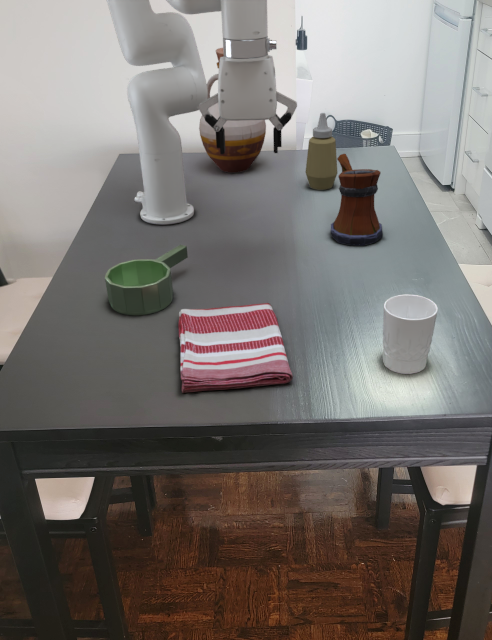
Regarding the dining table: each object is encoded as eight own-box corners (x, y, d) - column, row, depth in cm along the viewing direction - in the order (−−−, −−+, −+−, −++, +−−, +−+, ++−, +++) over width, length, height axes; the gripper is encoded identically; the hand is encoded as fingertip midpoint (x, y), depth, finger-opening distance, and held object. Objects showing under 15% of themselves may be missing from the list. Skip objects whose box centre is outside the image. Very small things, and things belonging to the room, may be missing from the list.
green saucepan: (145, 321, 121) (142, 293, 118) (97, 306, 126) (92, 278, 123) (209, 277, 135) (207, 251, 132) (163, 265, 140) (160, 239, 137)
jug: (185, 167, 192) (174, 49, 175) (233, 153, 202) (228, 40, 185) (231, 183, 180) (224, 58, 163) (280, 167, 190) (279, 48, 173)
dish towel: (181, 395, 103) (179, 380, 101) (178, 318, 122) (177, 304, 121) (293, 385, 104) (293, 370, 103) (273, 310, 123) (273, 297, 122)
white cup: (374, 350, 111) (378, 295, 106) (422, 347, 112) (429, 292, 106) (385, 378, 105) (391, 321, 99) (436, 374, 105) (444, 317, 100)
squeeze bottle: (342, 184, 177) (345, 111, 167) (327, 194, 171) (330, 119, 161) (314, 179, 181) (316, 107, 171) (299, 188, 175) (300, 115, 165)
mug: (316, 218, 159) (317, 152, 150) (364, 213, 160) (367, 148, 152) (337, 249, 144) (340, 178, 136) (390, 243, 146) (396, 173, 137)
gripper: (296, 43, 119) (296, 144, 128) (196, 46, 119) (204, 146, 129) (297, 51, 112) (297, 157, 122) (191, 54, 113) (199, 158, 123)
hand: (249, 151), depth 125 cm, fingers open, 9 cm apart
